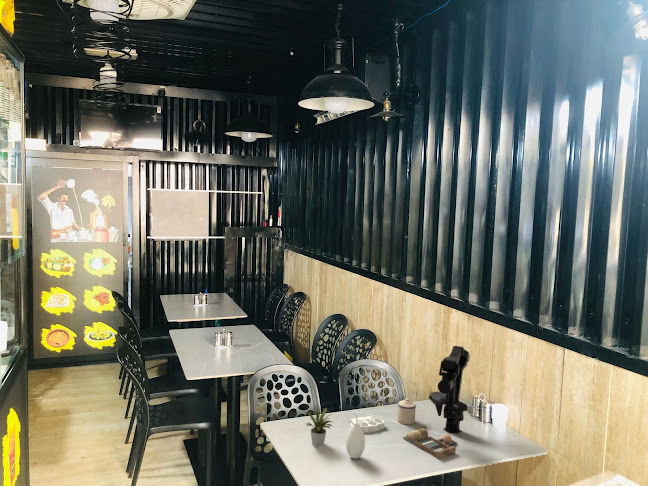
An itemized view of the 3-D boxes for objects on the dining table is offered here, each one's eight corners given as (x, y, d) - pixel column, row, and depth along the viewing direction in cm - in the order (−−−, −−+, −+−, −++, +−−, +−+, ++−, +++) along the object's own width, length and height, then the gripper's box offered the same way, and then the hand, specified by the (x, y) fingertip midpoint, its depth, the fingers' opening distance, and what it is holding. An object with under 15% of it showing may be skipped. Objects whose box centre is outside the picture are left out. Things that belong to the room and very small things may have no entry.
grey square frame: (446, 438, 241) (446, 437, 241) (457, 444, 235) (457, 442, 235) (436, 441, 237) (436, 440, 237) (447, 447, 232) (447, 445, 232)
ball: (446, 440, 239) (446, 432, 239) (453, 443, 236) (453, 435, 235) (440, 442, 237) (440, 433, 236) (447, 445, 233) (447, 437, 233)
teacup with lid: (418, 423, 257) (420, 400, 256) (403, 426, 253) (404, 402, 253) (405, 414, 268) (406, 392, 267) (390, 416, 264) (391, 394, 264)
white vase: (352, 451, 224) (354, 411, 223) (367, 457, 219) (369, 416, 218) (341, 457, 218) (343, 416, 217) (356, 464, 213) (358, 421, 212)
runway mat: (418, 434, 244) (418, 432, 244) (440, 446, 233) (441, 443, 232) (403, 439, 238) (403, 436, 238) (425, 451, 227) (425, 448, 227)
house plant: (305, 454, 219) (307, 416, 218) (295, 440, 232) (297, 405, 231) (336, 449, 225) (338, 413, 224) (324, 436, 238) (326, 402, 237)
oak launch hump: (420, 437, 243) (420, 426, 242) (427, 441, 238) (428, 430, 238) (406, 441, 237) (406, 430, 237) (413, 445, 233) (414, 434, 233)
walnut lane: (430, 440, 239) (430, 433, 238) (455, 453, 226) (455, 446, 226) (413, 445, 232) (413, 438, 232) (438, 459, 220) (438, 452, 220)
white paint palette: (374, 420, 260) (389, 431, 247) (342, 424, 253) (355, 437, 240) (374, 413, 260) (389, 425, 246) (342, 417, 253) (356, 430, 239)
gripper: (421, 383, 238) (419, 415, 239) (451, 396, 222) (449, 431, 223) (438, 379, 244) (436, 411, 245) (469, 392, 228) (467, 426, 230)
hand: (446, 419), depth 236 cm, fingers open, 9 cm apart
